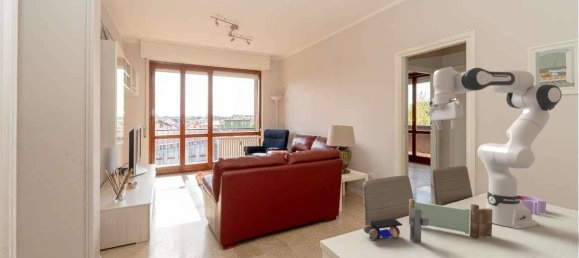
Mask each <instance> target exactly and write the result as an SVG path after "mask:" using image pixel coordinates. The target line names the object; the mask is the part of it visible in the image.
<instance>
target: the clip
mask: <svg viewBox="0 0 579 258" xmlns="http://www.w3.org/2000/svg"><path fill="white" fill-rule="evenodd" d="M517 195H518V196H519V195H520V196H524V197H525V198H524V200H521V199H519V200H520V203H521V204H522V205H523V206H525V207H526V208H527V209H529V210H530V211H531V213H532V215H534V214H535V215H534V216H537V215H538V212H539V214H543V213H546V214H547V212H546V211H547V210H546V209H547V201H546V200H543V199H541V198H538V197H535V196H531V195H524V194H518V193H517Z"/></svg>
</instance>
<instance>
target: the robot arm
mask: <svg viewBox="0 0 579 258" xmlns="http://www.w3.org/2000/svg"><path fill="white" fill-rule="evenodd" d="M535 81H536V80H535V76H534V74H533V73H532V72H529V71H525V70H520V69H519V70H518V69H511V70H510V69H507V70H501V71H489V70H486V69H484V68H481V67H474V68H471V69H469V70H466V71H463V72H460V71H457V70H455V69H454V68H453V67H452V65H451V66H450V65H448V66H443V67H439V68H437V69H435V70H434V72H433V79H432V85H433V86H432V87H433V89H434V92H433V98H432V99H431V100H430V101H429V102H428V107H429V120H430V121H431V122H435V124H436V127H437V130H439V131H441V130H443V129H444V128H443V127H444V126H443V125H442V121H447V120H448V121H449V120H450V122H451V124H450V125H449V130H456V127H457V126H456V125H457V123H458V120H459V119H463V117H464V110H463V109H464V108H463V105H462V103H461V100H460V99H459V98H458V97H456V95H461V94H465V93H469V92H475V91H481V90H483V89H486V88H487V87H489V88H490V89H492V91H494V92H495V93H501V94H506V103H507V105H508V106H509V107H510V108H514V109H523V111H522V113H521V114H520V115H519V116H518V117H517V118H516V120H514V121H513V122H512V124H511V125H510V127H509V128H508V129H507V130H506V137H507V139H508V141H507V142H505V143H498V142H497V143H496V142H488V143H483V144H481V145H480V146H478V148H477V150H476V155H477V158H478V159H479V160H480V161H481V162H482V163H483V165H484V167H485V170H486V172H487V176H488V191H487V193H486V198H487V201H486V205H485V206H486V207H485V208H490V209H492V224H495V225H499V226H503V227H509V228H514V229H519V230H522V229H527V228H531V227H536V226H540V225H539V222H538V221H536V220H534V219H533V214H532V213H531V211H530V210H529V209H527V208H526V207H525V206H523V205H522V204H521V203H520V200H519V199H521V200H524V198H525V197H524V196H520V195H521V194H519V196H518V195H517V194H518V180H517V178H516V176H515V175H513V173H511V171H510V169H528V168H530V167H532V165H533V164H534V163H535V160H536V159H535V158H536V155H535V152H533V150H532V148H531V147H532V144H533V142H534V141H535V140H536V139H537V137H538V136H539V135H540V134H541V132H542V131H543V129H544V128H545V126H546V125H547V123H548V122H549V119H550V113H549V111H551V110H553V109H554V108H555V107H556V105H558V103H559V102H560V101H561V99H562V96H563V95H562V91H561V90H562V89H561V88H560V87H559V86H557V85H555V84H549V83H547V84H546V83H545V84H541V85H539V84H538V85H535ZM509 168H510V169H509Z"/></svg>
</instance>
